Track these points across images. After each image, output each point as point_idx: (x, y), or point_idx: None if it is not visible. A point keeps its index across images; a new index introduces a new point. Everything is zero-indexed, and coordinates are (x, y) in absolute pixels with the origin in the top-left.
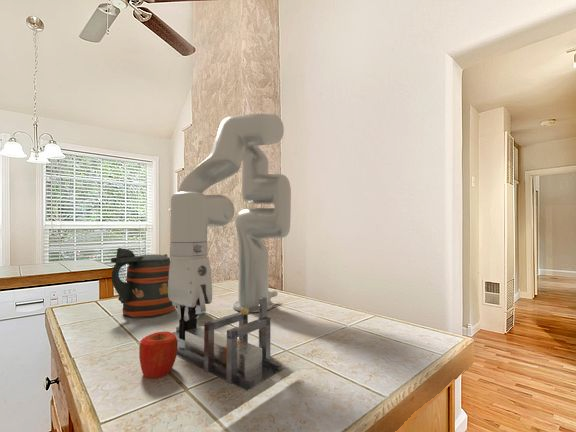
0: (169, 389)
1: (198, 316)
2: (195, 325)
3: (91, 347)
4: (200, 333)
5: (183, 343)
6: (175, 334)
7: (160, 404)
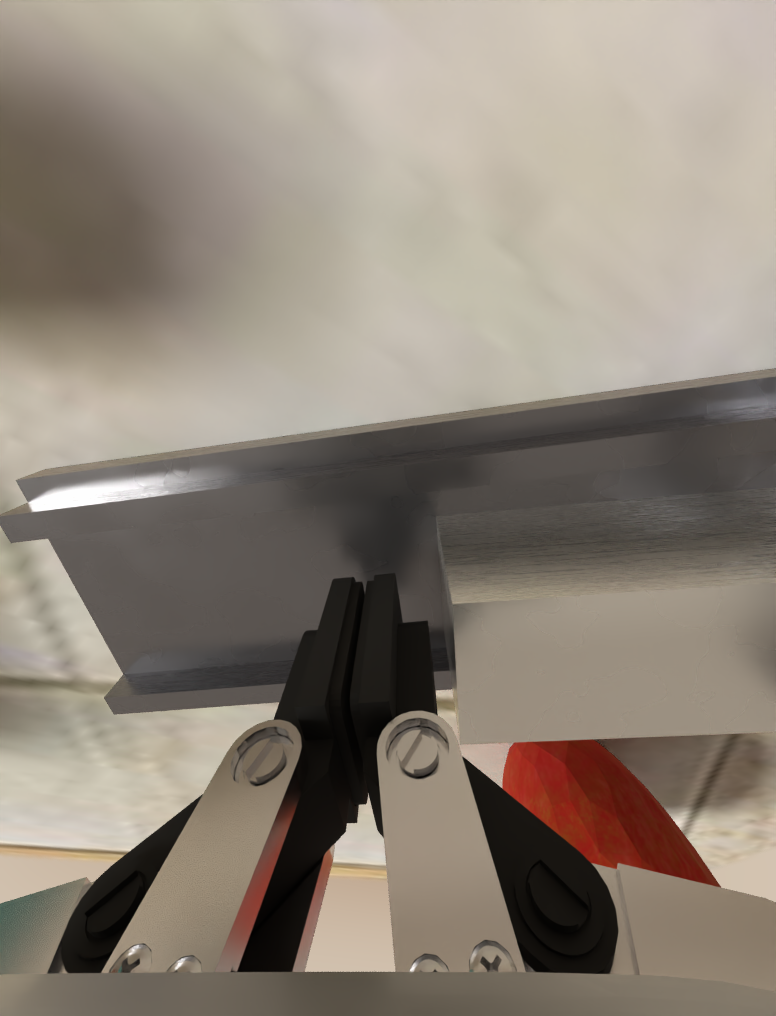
0: (675, 753)
1: (453, 734)
2: (393, 643)
3: (64, 807)
4: (627, 699)
5: (322, 587)
6: (115, 557)
7: (730, 794)
